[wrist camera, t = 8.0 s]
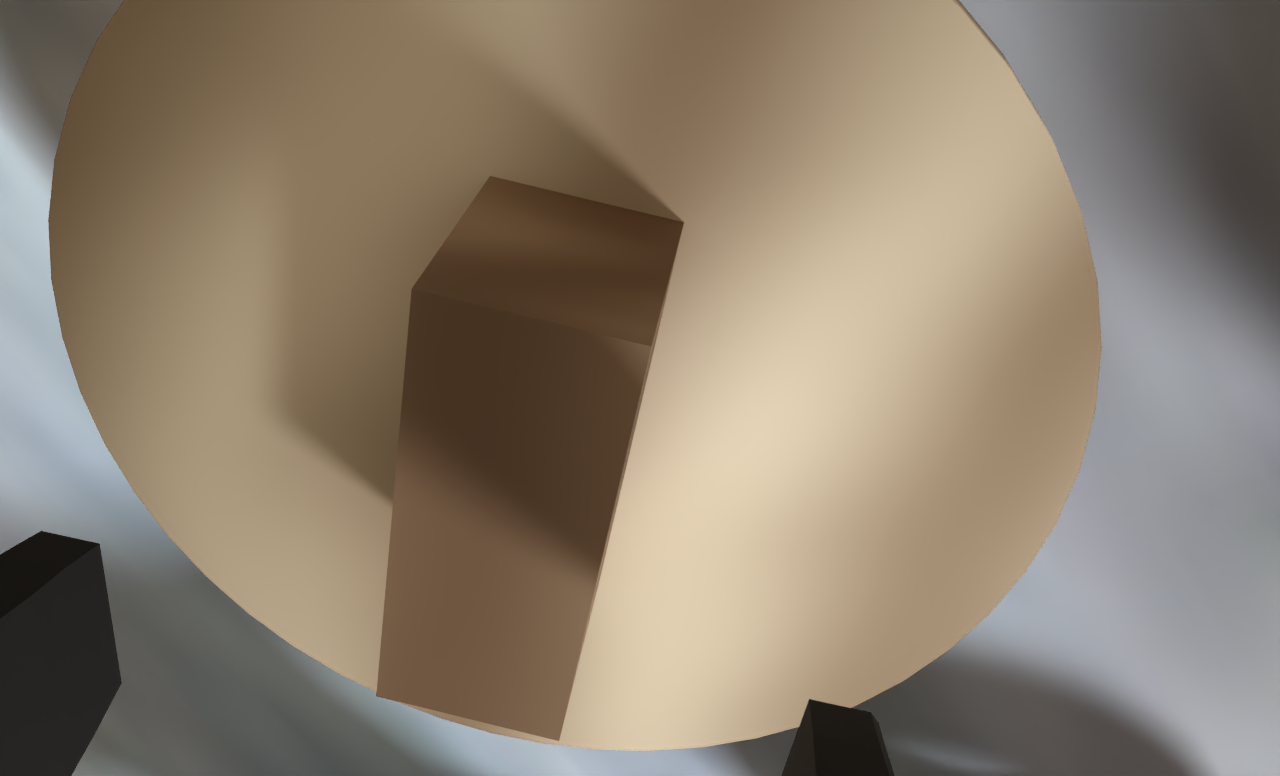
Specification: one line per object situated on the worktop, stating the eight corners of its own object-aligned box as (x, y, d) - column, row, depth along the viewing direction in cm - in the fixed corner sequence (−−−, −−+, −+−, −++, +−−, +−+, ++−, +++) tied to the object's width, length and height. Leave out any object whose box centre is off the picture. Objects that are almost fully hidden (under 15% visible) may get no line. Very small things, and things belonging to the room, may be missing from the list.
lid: (1307, -21, 11) (1495, 85, 8) (889, 792, 19) (901, 1009, 16) (26, -322, 12) (-272, -331, 8) (120, 602, 19) (-18, 780, 16)
